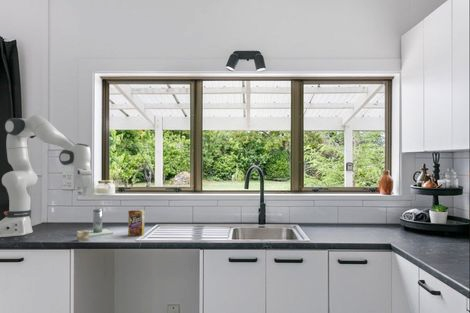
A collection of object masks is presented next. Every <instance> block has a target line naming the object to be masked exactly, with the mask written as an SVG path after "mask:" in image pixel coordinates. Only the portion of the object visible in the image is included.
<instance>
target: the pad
mask: <svg viewBox="0 0 470 313" xmlns="http://www.w3.org/2000/svg"><path fill="white" fill-rule="evenodd" d="M88 231H89V238H92V237H99V236H107V235H113V234H114V232H113V231H111V230H109V229H107V228H102V232H100V233H93V229H92V230H88Z"/></svg>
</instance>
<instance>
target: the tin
mask: <svg viewBox="0 0 470 313" xmlns="http://www.w3.org/2000/svg"><path fill="white" fill-rule="evenodd" d="M92 212H93V214H92V216H93V220H92V221H93V224H92V225H93V227H92V230H93V233H100V232H102V229H103V208H94V209H93V211H92Z"/></svg>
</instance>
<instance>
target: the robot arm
mask: <svg viewBox="0 0 470 313" xmlns="http://www.w3.org/2000/svg"><path fill="white" fill-rule="evenodd" d="M4 130H5V131H6V132H5V133H7V135H6V141H5V142H6V143H5V144H6V145H5V146H6V155H7V156H6V157H7V162H8V164H9V165H11V167H12V169H13V170H11V171H8V172H6V173H4V174H3V175H2V178H1V184H2V186H3V187H5V189H6V192H7V194H8V200H9V203H8V204H9V208H8V209H9V210H7V211H3V214H4V216H5V217H4V218H2V219H1V220H0V238H5V237H7V238H8V237H17V236H18V237H20V236H24V235H29V234H31V233H33V232H34V230H33V227H32V221H31V220H32V219H31V218H32V210H31V204H32V203H31V202H32V201H31V200H32V199H31V196H30V195H29V193H28V190H27V188H30V187H32V186H35V185H36V183H37V182H38V179H39V178H38V175H37V173H36V172H35V171H34V169H33V167H32V164H31V162H30V157H29V149H28V139H33V138H37V139H39V141H41V142H43V143H45V144H51V145H55V146H58V147H60V148H62V149H63V150H62V151H60V153H59V155H58V160H59V162H60V164H61V165H63V166H66V167H67V166H68V167H69V166H70V167H73V175H74V187H76V190H77V195H79V196H80V195H81V196H83V197H85V196H87V190H88V189H90V187H91V181H92V179H91V178H92V174H93V172H92V171H93V170H92V169H91V159H92V157H91V154H92V152H91V147H90V145H89V144H85V143H74V141H71V139H70V138H68V137H67V136H66V135H64V134H63V133H62V132H61V131H59V130H58V129H57V128H56V127H55V126H54V125H53V124H52V123H51V122H50V121H48V120H47V119H46V118H45V117H44V116H42V115H40V114H33V115H31V116H30V117H29V118H19V117H12V118H9V119H7V120H6V121H5V123H4Z"/></svg>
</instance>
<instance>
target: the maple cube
mask: <svg viewBox="0 0 470 313" xmlns="http://www.w3.org/2000/svg"><path fill="white" fill-rule="evenodd" d="M89 231H90V230H87V229H86V230H85V229H84V230H77V231H76V241H78V242H85V241H89V240H90V237H89Z"/></svg>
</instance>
